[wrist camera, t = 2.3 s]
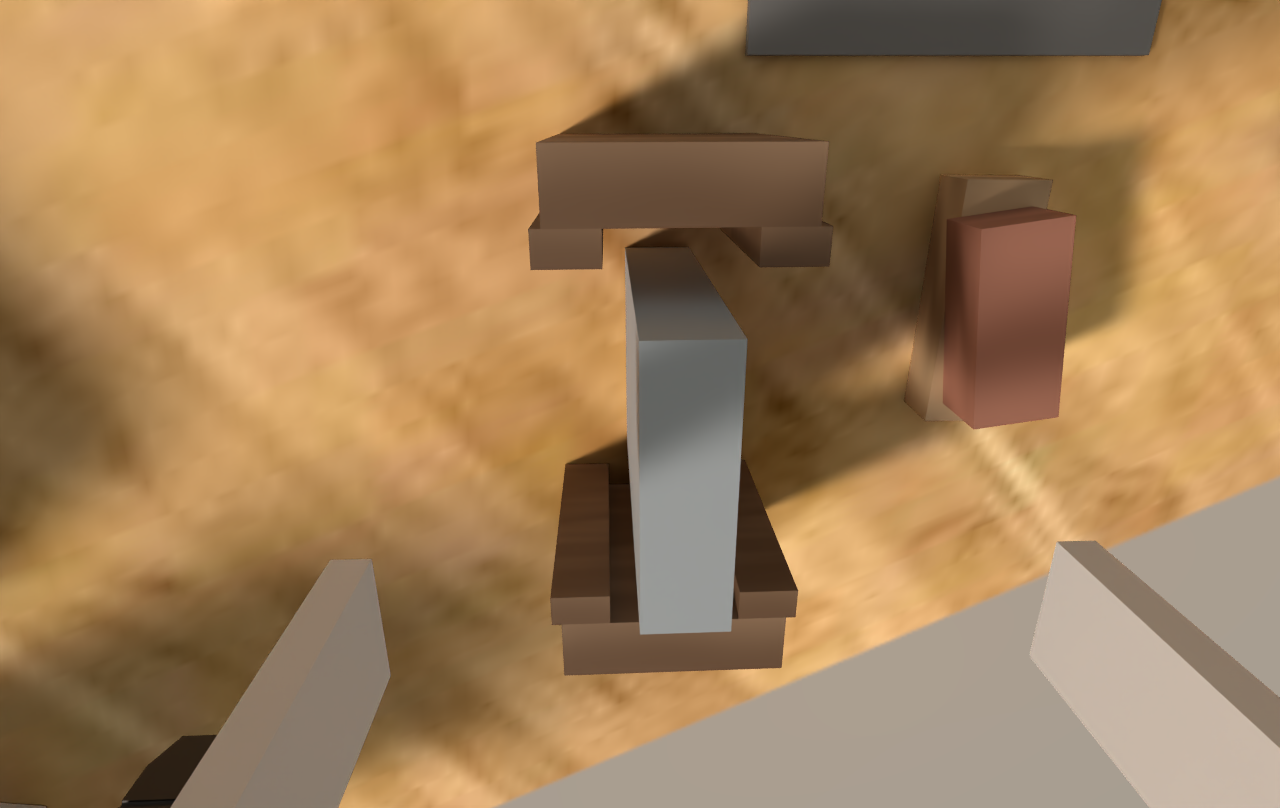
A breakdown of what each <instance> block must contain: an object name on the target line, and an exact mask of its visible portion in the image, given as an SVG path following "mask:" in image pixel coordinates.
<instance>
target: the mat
mask: <svg viewBox="0 0 1280 808" xmlns="http://www.w3.org/2000/svg"><path fill="white" fill-rule="evenodd" d="M1161 2H1162V0H748V11H747V32H746V53H745V56H1144V55H1149V52H1150V48H1151V44H1152V39H1153V35H1154V31H1155V27H1156V23H1157V18H1158V14H1159V10H1160V6H1161Z"/></svg>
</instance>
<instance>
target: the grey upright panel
mask: <svg viewBox="0 0 1280 808" xmlns="http://www.w3.org/2000/svg"><path fill="white" fill-rule="evenodd" d="M625 288H626V384H627V447H628V462H629V477H630V492H631V507H632V522H633V537H634V552H635V567H636V582H637V597H638V612H639V627H640V634H671V633H701V632H731V625H732V607H733V589H734V572H735V554H736V536H737V518H738V500H739V482H740V464H741V446H742V429H743V411H744V393H745V375H746V357H747V338H746V336H745V335H744V333H743V331H742V330H741V328H740V327H739V325H738V324H737V322H736V320H735V319H734V317H733V316H732V314H731V313H730V311H729V309H728V308H727V306H726V305H725V303H724V302H723V300H722V298H721V297H720V295H719V294H718V292H717V291H716V289H715V287H714V286H713V284H712V283H711V281H710V280H709V278H708V276H707V275H706V273H705V272H704V270H703V269H702V267H701V265H700V264H699V262H698V261H697V259H696V258H695V256H694V255H693V253H692V251H691V250H690V248H689V247H643V248H625Z"/></svg>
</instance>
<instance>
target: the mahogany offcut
mask: <svg viewBox="0 0 1280 808" xmlns="http://www.w3.org/2000/svg"><path fill="white" fill-rule="evenodd" d="M1075 223H1076V215H1072V214H1067V213H1062V212H1058V211H1053V210H1048V209H1043V208H1039V207H1034V206H1031V207H1024V208H1017V209H1011V210H1004V211H997V212H991V213H984V214H977V215H971V216H964V217H957V218H950V219H947V229H946V275H945V325H944V369H943V404H944V405H946V406H947V407H948V408H949V409H950V410H951V411H953V412H954V413H955V414H956V415H957V416H958V417H960V418H961V419H962V420H963V421H964V422H966V423H967V424H968V425H969V426H970V427H971V428H973V429H980V428H986V427H993V426H1000V425H1007V424H1014V423H1021V422H1028V421H1035V420H1042V419H1049V418H1055V417H1058V415H1059V404H1060V392H1061V381H1062V370H1063V358H1064V347H1065V336H1066V325H1067V313H1068V302H1069V291H1070V280H1071V268H1072V257H1073V246H1074V234H1075Z"/></svg>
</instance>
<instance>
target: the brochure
mask: <svg viewBox="0 0 1280 808" xmlns="http://www.w3.org/2000/svg"><path fill="white" fill-rule="evenodd" d="M0 808H46V806H37V805H24V804H10V803H0Z"/></svg>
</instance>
